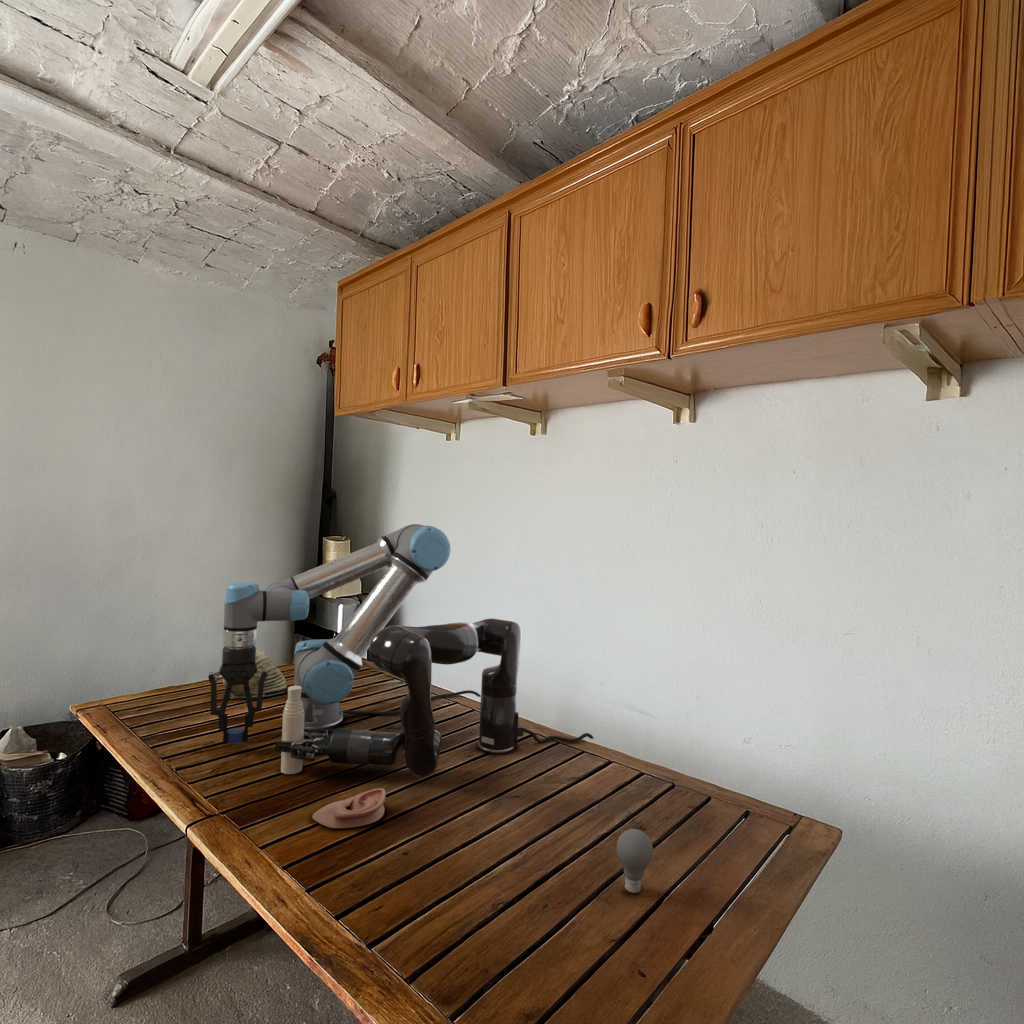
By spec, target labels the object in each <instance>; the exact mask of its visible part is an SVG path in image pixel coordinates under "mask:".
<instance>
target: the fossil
mask: <svg viewBox="0 0 1024 1024" xmlns="http://www.w3.org/2000/svg"><path fill="white" fill-rule="evenodd" d="M255 664H256V666H257V668H258V669H261V670H264V669H266V670H267V676H266V679H265V681H264V689H263V698H264V697H271V696H275V695H281V694H284V693H285V691H286V689H287V688H288V686H287V680H286V678H285V676H284V674H283V673H282V672H281V669H279V668H278V667H277V665H276V663H275V662H274V660H273V659H272V658H271V657H270V656H269V655H268V654H267V653H266V652H265V650H264V649H263V648H260V647H258V648H257V647H256V659H255ZM258 681H259V678H257V673H255V674H254V675H253V677H252V678H251V679H250V680H249V686H250V691H251V697H252V698H257V693H258ZM226 684H227V682H226V681H225V679H224V678H223V677H222V685H223V687H224V688H226ZM229 699H246V696H245V691H244V686H243V685H240V684H237V685H232V689H231V692H230V696H229Z"/></svg>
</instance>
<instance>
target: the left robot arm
mask: <svg viewBox="0 0 1024 1024" xmlns="http://www.w3.org/2000/svg"><path fill="white" fill-rule="evenodd" d="M451 548H452V547H451V543H450V540H449V538H448V536H447V535H446V533H445V532H444V531H442V530H441V529H439V528H437V527H435V526H433V525H425V524H424V525H423V524H420V523H419V524H418V523H413V524H408V525H405V526H403V527H401V528H399V529H397V530H394V531H392V532H391V533H388V534H385V535H382V536H381V537H379V538H378V540H377V542H375V543H373V544H370V545H368V546H365V547H363V548H360V549H358V550H355V551H353V552H351V553H348V554H346V555H343V556H341V557H339V558H336V559H333V560H331V561H329V562H326V563H323V564H320V565H319V566H316V567H314V568H311V569H309V570H306V571H304V572H302V573H301V572H300V573H298V574H297V575H294V576H292V577H289V578H287V579H284V580H282V581H273V582H270V583H269V584H267V586H266V587H264V590H260V585H259V584H258V583H257V582H251V581H237V582H236V581H235V582H230V583H229V584H228V585H227V586H226V588H225V595H224V606H223V607H224V610H223V630H222V631H223V634H222V636H223V637H222V645H223V646H224V647H223V648H222V652H221V653H222V654H221V655H222V656H221V658H222V659H221V665H220V667H219V670H216V671H214V672H213V671H210V672H209V673H208V677H207V678H208V681H209V684H210V714H211V715H212V716H217V717H218V726H217V727H218V730H219V731H221V730H223V733H222V745H227V742H226V739H227V731H228V719H229V716H228V715H229V713H226V711H227V706H228V702H229V699H230V692H231V689H232V685H237V684H240V685H243V686H244V691H245V696H246V698H245V701H246V707H247V711H246V712H245V711H244V728H243V729H244V730H245V732H244V741H243V743H248V740H249V737H248V735H249V728H253V726H254V718H255V717H254V716H255V714H256V713H259V712H261V711H262V709H263V699H264V697H263V689H264V681H265V679H266V676H267V670H266V669H264V670H261V669H258V668H257V666H256V664H255V659H256V649H257V647H256V644H257V635H258V634H257V632H258V622H282V621H283V622H284V621H285V622H287V621H288V622H289V621H292V622H295V621H301V620H306V619H307V618H308V616H309V612H310V600H312V599H314V598H316V597H319V596H321V595H324V594H326V593H328V592H331V591H333V590H335V589H337V588H340V587H342V586H345V585H347V584H350V583H352V582H354V581H356V580H359V579H362V578H364V577H367V576H368V575H369V576H370V575H371V574H374V573H376V572H378V571H380V570H384V569H385V568H388V569H387V570H386V571H385V572H384V574H383V575H382V577H381V578H380V579H379V580H378V582H377V583H376V584H375V586H374V587H373V588H372V589H371V591H370V592H369V594H368V595H367V596H366V597H365V599H364V600H363V601H362V602H361V604H360V605H359V606H358V607H357V609H356V610H355V612H353V614H352V616H351V617H350V619H348V621H347V622H346V623H345V624H344V625H343V627H342V628H341V630H340V631H339V632H338V633H337V635H336V636H335V637H334V638H329V639H328V638H327V639H307V640H301V641H299V642H297V643H296V644H295V648H294V649H295V650H294V672H293V673H294V674H293V675H294V676H293V686H301V688H302V690H301V700H302V703H303V706H304V708H303V709H304V713H305V718H304V732H308V730H309V729H336V728H338V727H339V726H340V725H342V723H343V722H344V715H367V716H371V715H372V716H389V715H397V714H400V709H396V710H389V711H387V710H386V711H372V710H371V711H369V710H343V709H342V706H341V701H343V700H345V699H346V698H347V697H348V696H349V694H350V693H351V691H352V690H353V686H354V679H355V677H356V676H357V674H358V672H359V671H360V670H361V668H362V667H363V656H364V655H365V653H367V651H368V650H369V647H370V643H371V641H372V639H373V638H374V636H375V635H376V634H377V633H378V632H379V631H381V630H382V629H384V628H386V625H388V623H389V622H390V620H391V619H392V617H393V616H394V615H395V614H396V612H397V611H398V609H400V607H401V606H402V604H403V603H404V602H405V600H406V599H407V597H409V595H410V593H411V592H412V591H413V590H414V588H415V587H416V586H417V585H418V584H422V583H425V582H426V581H427V580H428V579H429V577H430V576H431V575H432V573H433V572H434V571H437V570H440V569H441V568H443V567H444V566H445V565H446V564H447V562H448V561H449V558H450V555H451ZM255 673H257V678H259V681H258V693H257V697H256V705H254V702H253V697H251V691H250V686H249V680H250V679H251V678H252V677H253V675H254V674H255ZM220 676H221V677H222V679H223V678H224V679H225V681H226V682H227V684H226V688H225V687H224V688H225V689H224V693H223V696H222V700H221V704H220V707H219V708H218V681H219V679H220ZM464 694H465V695H466V694H472V695H475V696H476V697H478V698H481V693H478V692H477V691H475V690H470V689H468V690H461V691H456V692H451V693H442V694H436V695H431V701H432V700H436V699H440V698H447V697H455V696H460V695H464Z"/></svg>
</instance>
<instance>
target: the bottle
mask: <svg viewBox="0 0 1024 1024" xmlns="http://www.w3.org/2000/svg"><path fill="white" fill-rule="evenodd" d="M301 690H302V688H301V686H294V685H291V686H287V700H286V701H285V706H284V708H283V711H282V723H281V741H288V742H302V741H303V740H304V718H305V713H304V709H303V708H304V706H303V703H302V700H301ZM303 765H304V760H300V759H295V758H291V753H290V752H280V773H281V774H284V775H295V774H298V773H300V772H302V771H303V767H304V766H303Z"/></svg>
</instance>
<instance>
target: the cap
mask: <svg viewBox="0 0 1024 1024" xmlns="http://www.w3.org/2000/svg"><path fill="white" fill-rule="evenodd" d="M244 729H245V728H244V727H243V728H242V727H233V728H229V729H227V739H226V744H230V745H237V744H240V743H241V744H242V743H244V732H245V730H244Z"/></svg>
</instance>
